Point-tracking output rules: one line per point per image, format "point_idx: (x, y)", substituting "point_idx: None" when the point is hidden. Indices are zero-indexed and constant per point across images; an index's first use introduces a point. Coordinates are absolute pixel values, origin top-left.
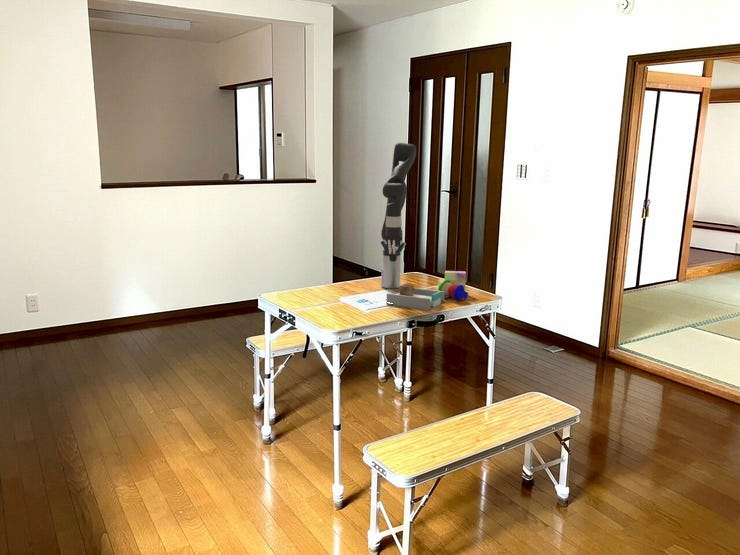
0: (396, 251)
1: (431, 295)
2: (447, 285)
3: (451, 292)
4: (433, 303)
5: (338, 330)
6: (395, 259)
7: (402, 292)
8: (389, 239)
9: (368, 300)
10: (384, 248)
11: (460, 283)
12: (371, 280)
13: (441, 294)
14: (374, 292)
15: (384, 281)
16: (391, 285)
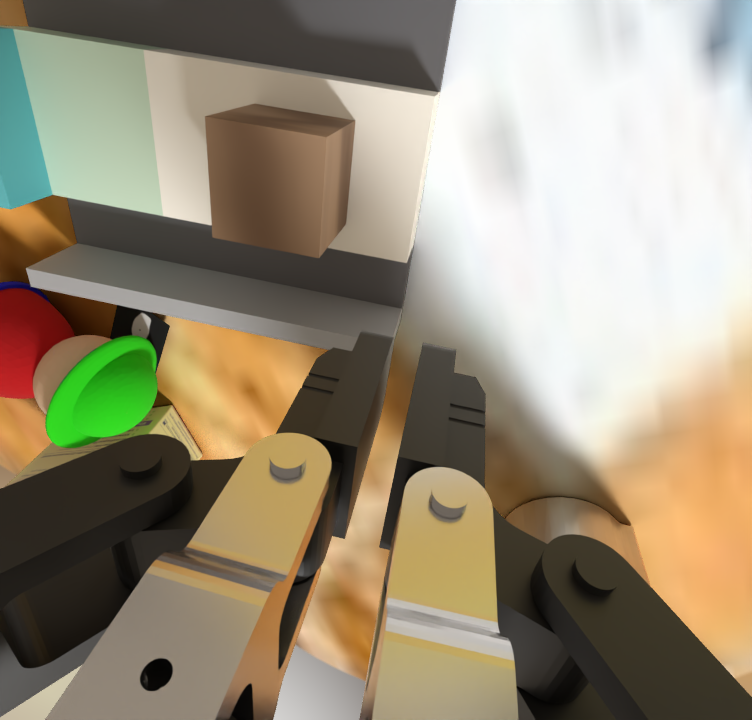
0: (171, 486)
1: (152, 273)
2: (40, 373)
3: (11, 305)
4: (10, 26)
5: None
6: (317, 361)
7: (312, 120)
8: None
9: (699, 49)
10: (739, 708)
11: (43, 467)
12: (725, 646)
13: (61, 263)
14: (667, 376)
15: (614, 546)
16: (551, 513)
